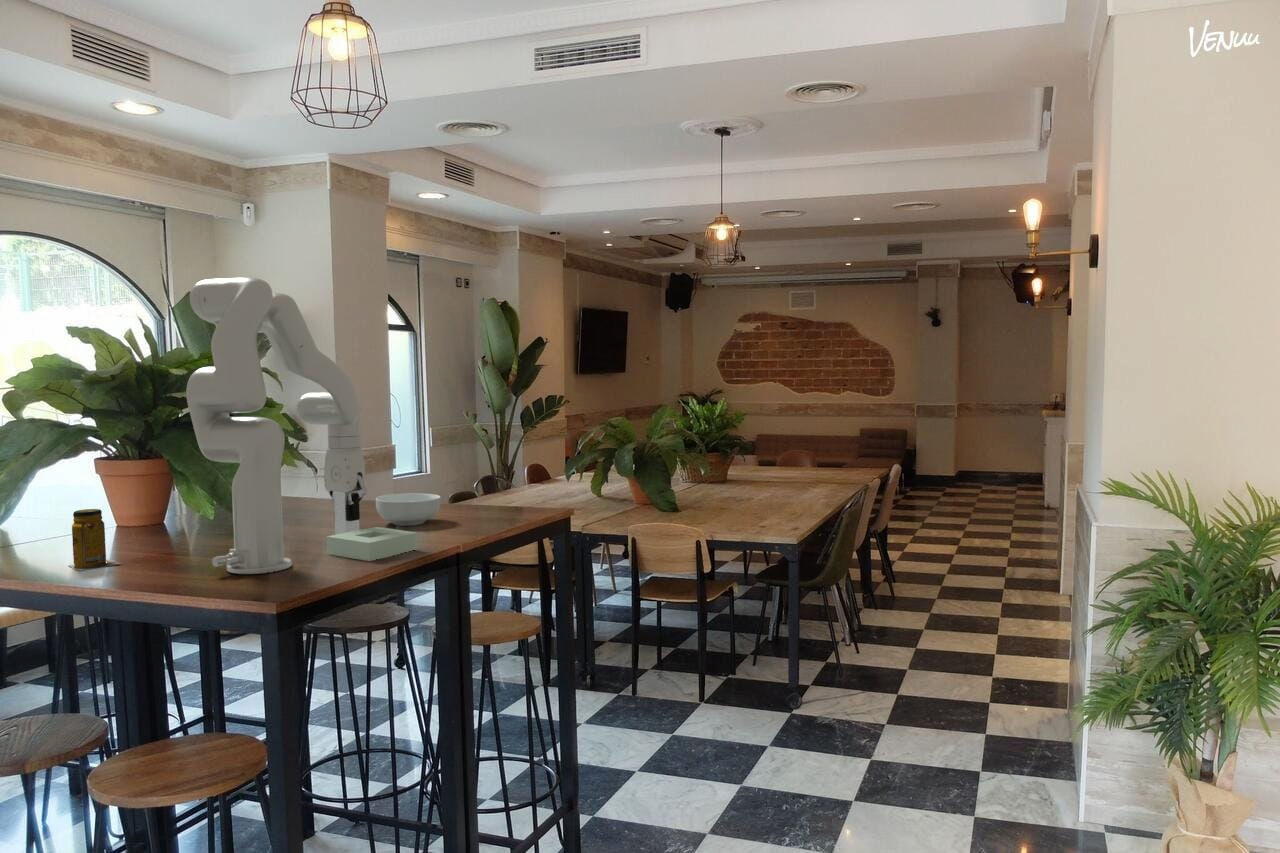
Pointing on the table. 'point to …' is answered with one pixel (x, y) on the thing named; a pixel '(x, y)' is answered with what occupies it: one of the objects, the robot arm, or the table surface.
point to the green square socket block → (371, 543)
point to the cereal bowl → (408, 507)
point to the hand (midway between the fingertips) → (347, 518)
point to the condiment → (89, 540)
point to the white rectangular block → (343, 514)
